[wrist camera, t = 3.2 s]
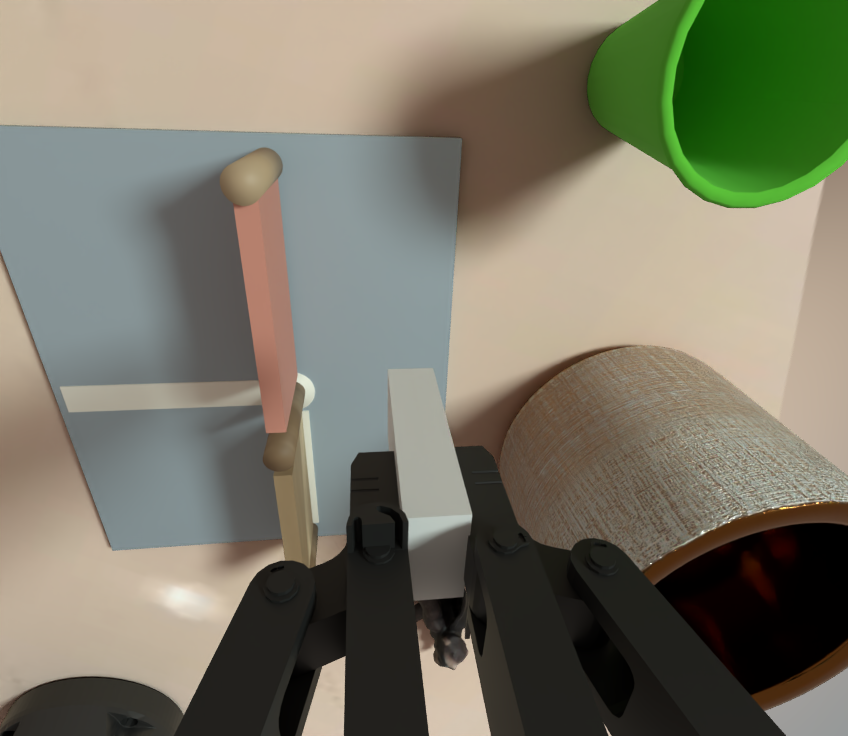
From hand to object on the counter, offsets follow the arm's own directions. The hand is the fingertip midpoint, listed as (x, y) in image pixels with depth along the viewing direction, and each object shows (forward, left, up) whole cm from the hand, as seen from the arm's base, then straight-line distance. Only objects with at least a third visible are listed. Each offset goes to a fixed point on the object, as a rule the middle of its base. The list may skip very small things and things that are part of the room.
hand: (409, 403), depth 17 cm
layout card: (-8, -7, -15) cm, 18 cm away
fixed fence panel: (-6, -14, -15) cm, 21 cm away
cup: (+13, +10, -15) cm, 22 cm away
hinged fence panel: (-6, 0, -13) cm, 15 cm away
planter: (+17, -14, -15) cm, 26 cm away
